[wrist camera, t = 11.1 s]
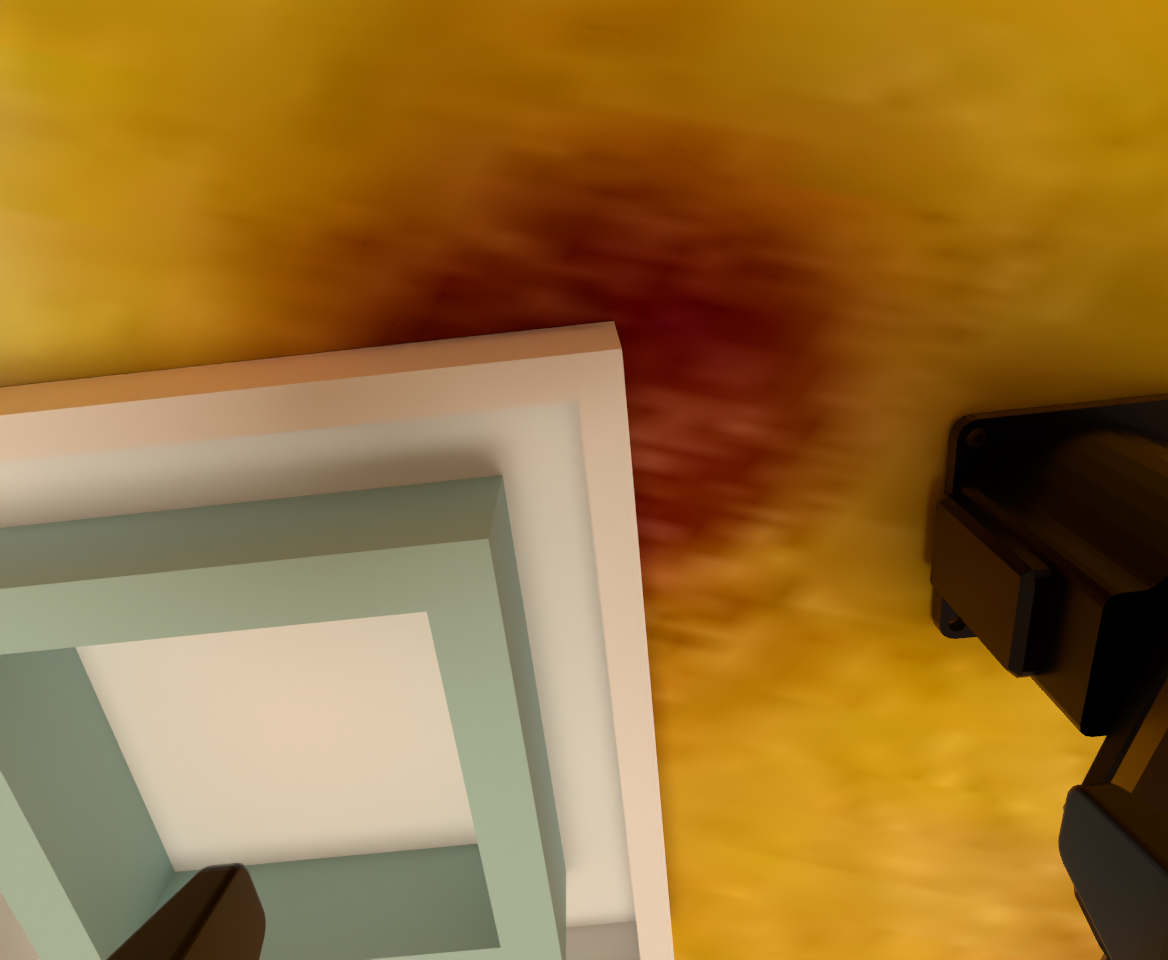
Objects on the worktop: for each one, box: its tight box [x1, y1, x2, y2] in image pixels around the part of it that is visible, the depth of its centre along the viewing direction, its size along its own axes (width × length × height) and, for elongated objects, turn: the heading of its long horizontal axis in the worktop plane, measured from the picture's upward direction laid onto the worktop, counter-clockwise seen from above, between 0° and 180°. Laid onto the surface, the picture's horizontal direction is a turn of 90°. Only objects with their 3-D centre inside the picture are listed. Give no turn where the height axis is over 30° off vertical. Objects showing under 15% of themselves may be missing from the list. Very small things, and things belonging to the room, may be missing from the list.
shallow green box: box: [0, 475, 566, 960], centre depth 20 cm, size 14×14×4 cm
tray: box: [0, 321, 674, 960], centre depth 21 cm, size 21×21×3 cm
